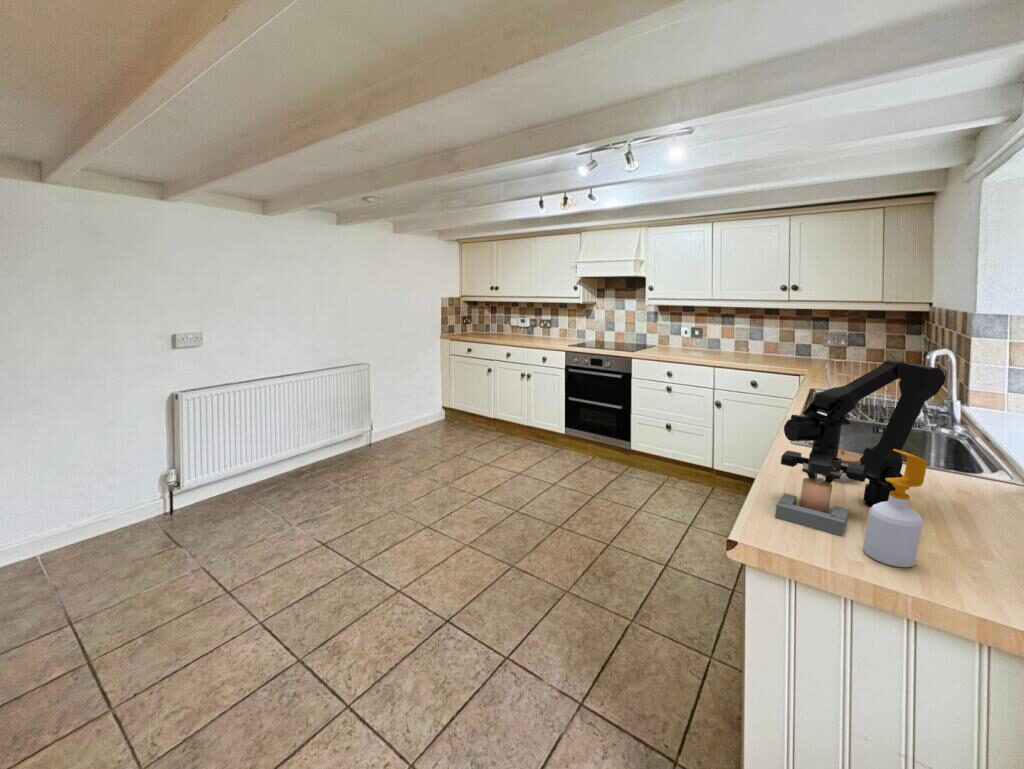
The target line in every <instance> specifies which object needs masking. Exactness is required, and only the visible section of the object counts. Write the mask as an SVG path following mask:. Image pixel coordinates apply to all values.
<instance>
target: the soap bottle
mask: <svg viewBox="0 0 1024 769" xmlns="http://www.w3.org/2000/svg"><path fill="white" fill-rule="evenodd" d="M893 451H896V452H899V453H901V455H904V456H906V463H905V469H904V474H902V475H903V477H899V478H886V479H885V480H886V481H888V482H890V483H892V484H893V486H894V487H896V488H895V491H890V494H889V499H888V501H886V502H880V503H877V504H874V505H873V506H870V509H869V512H868V516H867V522H866V527H865V533H864V534H865V535H864V541H863V545H862V550H863V551H864V553H865V555H867V556H868V557H870V558H872V559H873V560H875V561H877V562H879V563H882V564H885V565H887V566H891V567H897V568H910V567H914V566H915V563H916V560H917V556H918V550H919V546H920V545H919V544H920V541H921V540H920V539H921V535H922V528H923V526H924V525H923V523H924V521H923V517H922V516H921V515H920V514H919V513H918V512H917V511H916V510H915V509H913V508H912V507H910V506H909V501H910V495H909V494H907V493H906V490H908V491H909V490H910V488H917V487H921V486H922V485H923V483H924V481H925V476H926V471H927V465H928V463H927V460H926V459H924V458H921V457H919V456H916V455H913V454H911V453H908V452H905V451H903V450H901V451H900V450H896V449H893Z"/></svg>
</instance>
